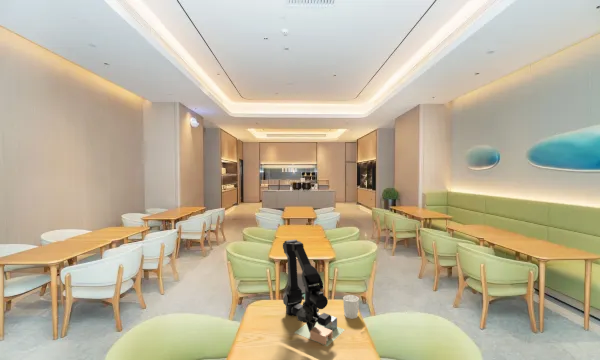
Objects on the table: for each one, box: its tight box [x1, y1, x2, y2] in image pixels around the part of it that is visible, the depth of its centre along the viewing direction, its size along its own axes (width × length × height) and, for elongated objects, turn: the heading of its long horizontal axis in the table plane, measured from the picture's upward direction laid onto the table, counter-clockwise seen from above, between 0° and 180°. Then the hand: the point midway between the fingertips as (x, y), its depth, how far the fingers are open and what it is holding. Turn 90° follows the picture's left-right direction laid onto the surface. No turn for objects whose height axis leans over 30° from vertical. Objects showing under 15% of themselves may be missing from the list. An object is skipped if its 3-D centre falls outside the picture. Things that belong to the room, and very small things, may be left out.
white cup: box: [342, 294, 360, 320], centre depth 154 cm, size 8×8×10 cm
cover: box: [309, 325, 333, 346], centre depth 133 cm, size 8×6×4 cm
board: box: [294, 322, 346, 347], centre depth 139 cm, size 18×16×4 cm
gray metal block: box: [324, 314, 338, 331], centre depth 141 cm, size 4×4×5 cm
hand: (310, 332), depth 136 cm, fingers closed
